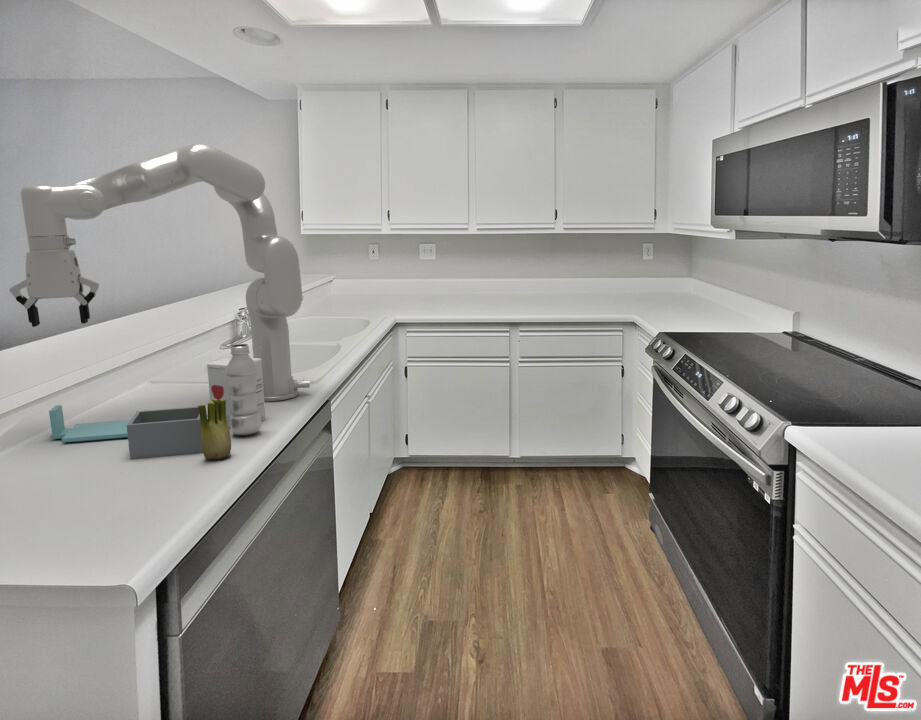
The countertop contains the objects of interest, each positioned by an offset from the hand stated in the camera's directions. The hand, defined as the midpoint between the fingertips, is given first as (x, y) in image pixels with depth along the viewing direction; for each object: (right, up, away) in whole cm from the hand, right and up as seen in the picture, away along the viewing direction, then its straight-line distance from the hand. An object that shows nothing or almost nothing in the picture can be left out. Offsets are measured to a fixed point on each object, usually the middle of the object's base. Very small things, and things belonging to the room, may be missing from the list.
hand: (60, 324), depth 157 cm
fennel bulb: (+39, -28, -13) cm, 49 cm away
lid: (+6, -25, +5) cm, 26 cm away
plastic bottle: (+40, -24, +3) cm, 47 cm away
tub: (+26, -26, -6) cm, 38 cm away
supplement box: (+35, -23, +12) cm, 44 cm away
